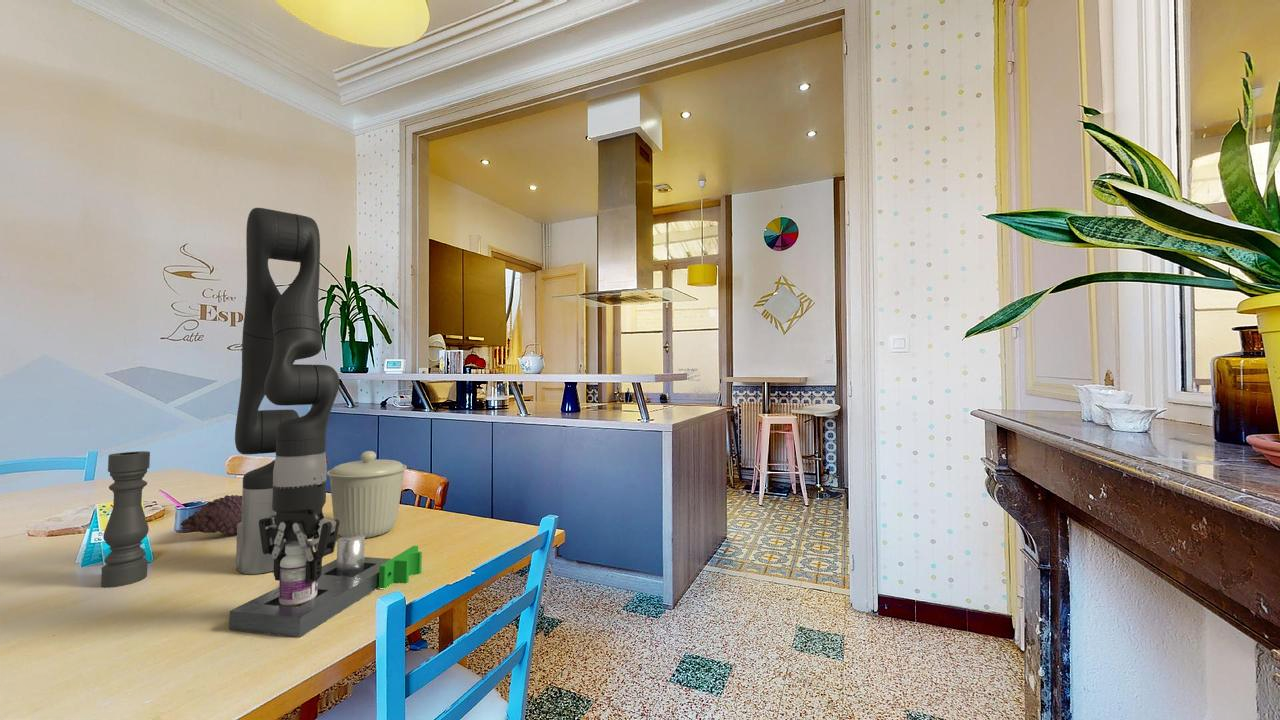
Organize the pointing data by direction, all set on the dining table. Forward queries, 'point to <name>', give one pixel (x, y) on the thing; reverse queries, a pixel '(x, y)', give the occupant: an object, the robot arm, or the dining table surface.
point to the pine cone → (217, 516)
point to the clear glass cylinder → (350, 555)
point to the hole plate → (307, 603)
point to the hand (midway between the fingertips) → (297, 579)
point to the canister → (366, 495)
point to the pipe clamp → (400, 567)
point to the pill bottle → (295, 577)
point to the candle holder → (126, 520)
